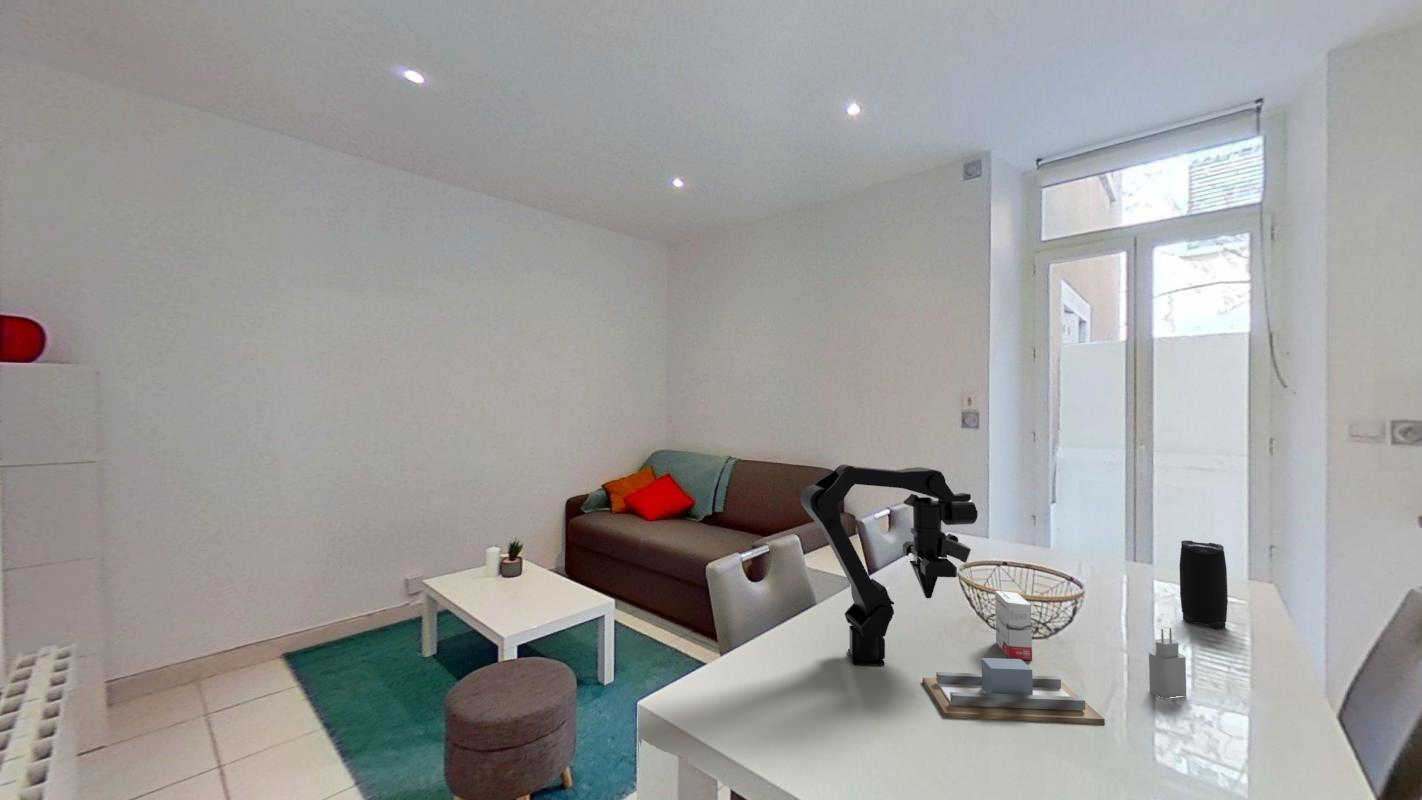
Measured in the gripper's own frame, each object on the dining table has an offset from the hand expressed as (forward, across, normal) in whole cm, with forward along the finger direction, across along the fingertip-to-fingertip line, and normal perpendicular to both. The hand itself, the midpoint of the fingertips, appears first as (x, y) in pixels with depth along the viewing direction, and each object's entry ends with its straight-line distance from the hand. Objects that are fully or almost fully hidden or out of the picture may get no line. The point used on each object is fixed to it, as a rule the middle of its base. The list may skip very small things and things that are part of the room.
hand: (928, 597), depth 115 cm
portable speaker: (+12, +23, -72) cm, 77 cm away
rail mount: (+12, -18, -8) cm, 23 cm away
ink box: (+12, +3, -19) cm, 23 cm away
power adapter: (+12, -13, -39) cm, 43 cm away
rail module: (+11, -18, -8) cm, 23 cm away
